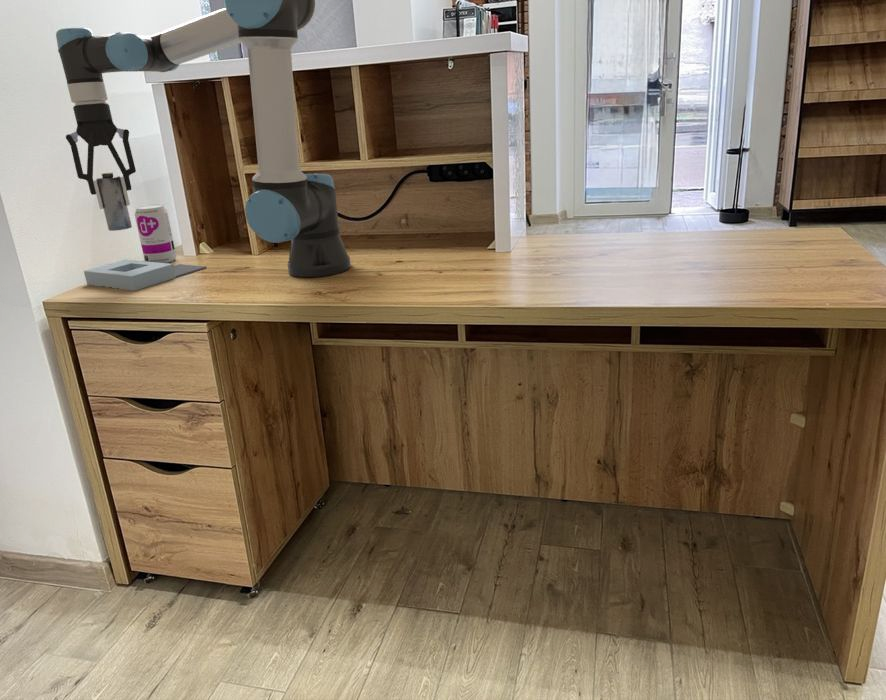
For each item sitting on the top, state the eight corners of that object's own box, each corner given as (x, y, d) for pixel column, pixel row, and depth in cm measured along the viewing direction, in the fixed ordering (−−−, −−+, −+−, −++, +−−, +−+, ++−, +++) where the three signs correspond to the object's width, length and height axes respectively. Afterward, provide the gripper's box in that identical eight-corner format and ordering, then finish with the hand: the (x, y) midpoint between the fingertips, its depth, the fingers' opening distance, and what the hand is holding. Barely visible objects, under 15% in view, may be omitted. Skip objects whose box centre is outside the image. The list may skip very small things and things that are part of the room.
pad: (206, 268, 182) (206, 266, 182) (175, 277, 174) (175, 276, 174) (180, 265, 186) (180, 264, 186) (149, 274, 178) (148, 273, 178)
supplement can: (166, 265, 188) (154, 209, 183) (139, 265, 190) (126, 209, 185) (182, 257, 196) (172, 203, 191) (156, 258, 198) (145, 204, 192)
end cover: (136, 226, 169) (123, 171, 165) (117, 230, 165) (104, 174, 161) (122, 226, 172) (109, 172, 167) (104, 230, 168) (90, 175, 163)
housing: (175, 277, 174) (172, 264, 172) (134, 290, 164) (131, 276, 163) (128, 272, 182) (125, 259, 181) (87, 284, 173) (83, 270, 172)
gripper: (132, 100, 165) (154, 199, 173) (46, 106, 158) (73, 210, 167) (134, 99, 159) (156, 202, 167) (44, 106, 152) (72, 213, 160)
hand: (115, 206), depth 167 cm, fingers closed on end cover, 5 cm apart
